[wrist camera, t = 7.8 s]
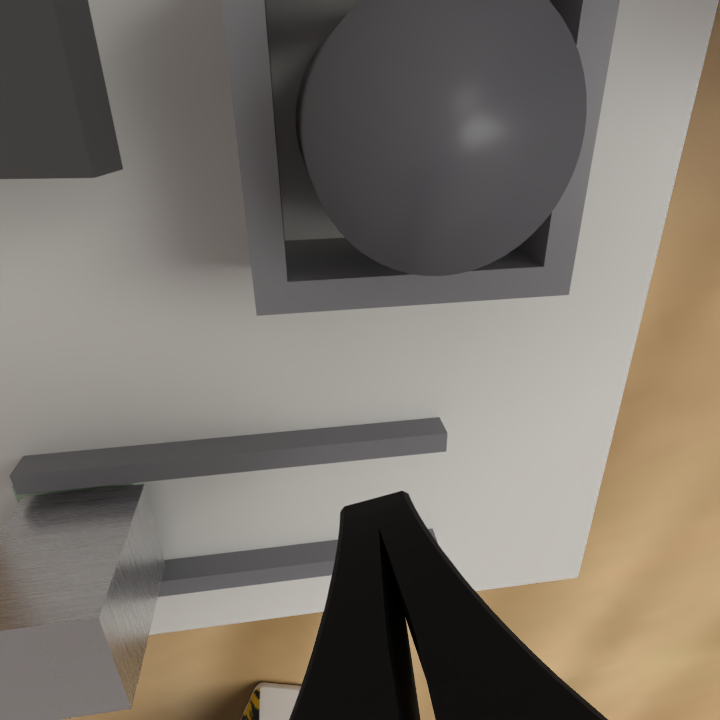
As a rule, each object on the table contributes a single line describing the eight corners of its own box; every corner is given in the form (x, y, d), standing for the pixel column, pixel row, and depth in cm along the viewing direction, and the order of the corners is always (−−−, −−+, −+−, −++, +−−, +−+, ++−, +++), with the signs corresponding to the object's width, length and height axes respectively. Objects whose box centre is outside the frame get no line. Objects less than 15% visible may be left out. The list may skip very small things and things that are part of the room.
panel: (705, -150, 11) (947, -288, 7) (558, 545, 20) (627, 656, 16) (-260, -187, 9) (-691, -414, 5) (61, 607, 18) (0, 753, 14)
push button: (495, 7, 10) (612, -39, 7) (477, 217, 12) (562, 269, 8) (287, 7, 10) (294, -44, 6) (302, 225, 12) (313, 284, 8)
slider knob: (144, 484, 14) (98, 617, 10) (165, 565, 15) (131, 709, 12) (22, 496, 13) (-68, 639, 10) (55, 578, 15) (-14, 730, 11)
